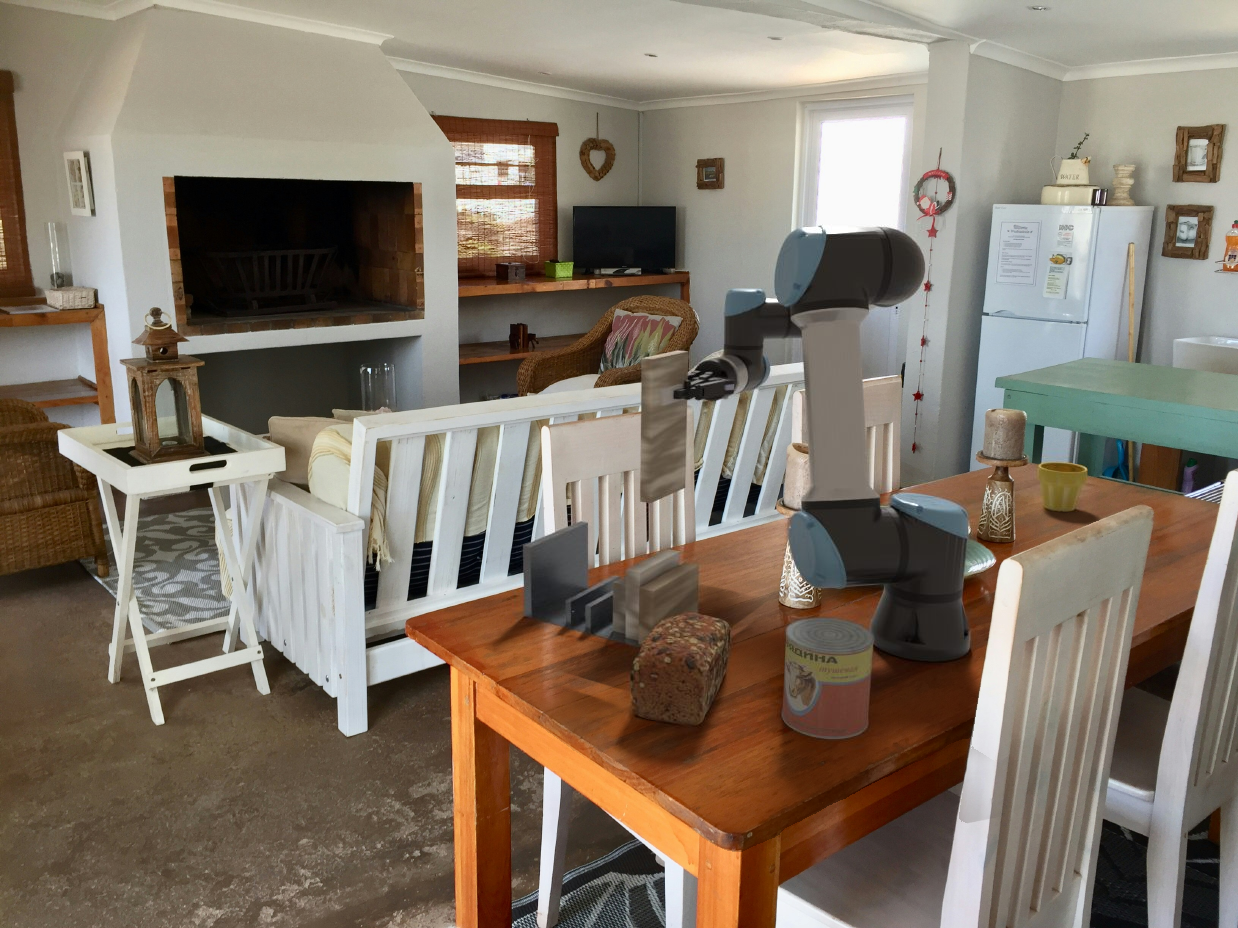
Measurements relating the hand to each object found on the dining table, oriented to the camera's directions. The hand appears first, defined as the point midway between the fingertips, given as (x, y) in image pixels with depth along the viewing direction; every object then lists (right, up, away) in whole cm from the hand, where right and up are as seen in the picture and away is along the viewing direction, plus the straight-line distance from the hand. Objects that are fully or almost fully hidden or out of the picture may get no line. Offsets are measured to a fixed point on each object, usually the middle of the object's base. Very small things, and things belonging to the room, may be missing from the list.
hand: (654, 396), depth 165 cm
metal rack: (-7, -37, -2) cm, 38 cm away
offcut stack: (0, -37, -6) cm, 37 cm away
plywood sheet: (+2, -16, +7) cm, 18 cm away
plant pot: (+95, -21, +66) cm, 118 cm away
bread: (+3, -43, -25) cm, 50 cm away
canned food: (+21, -45, -32) cm, 59 cm away
